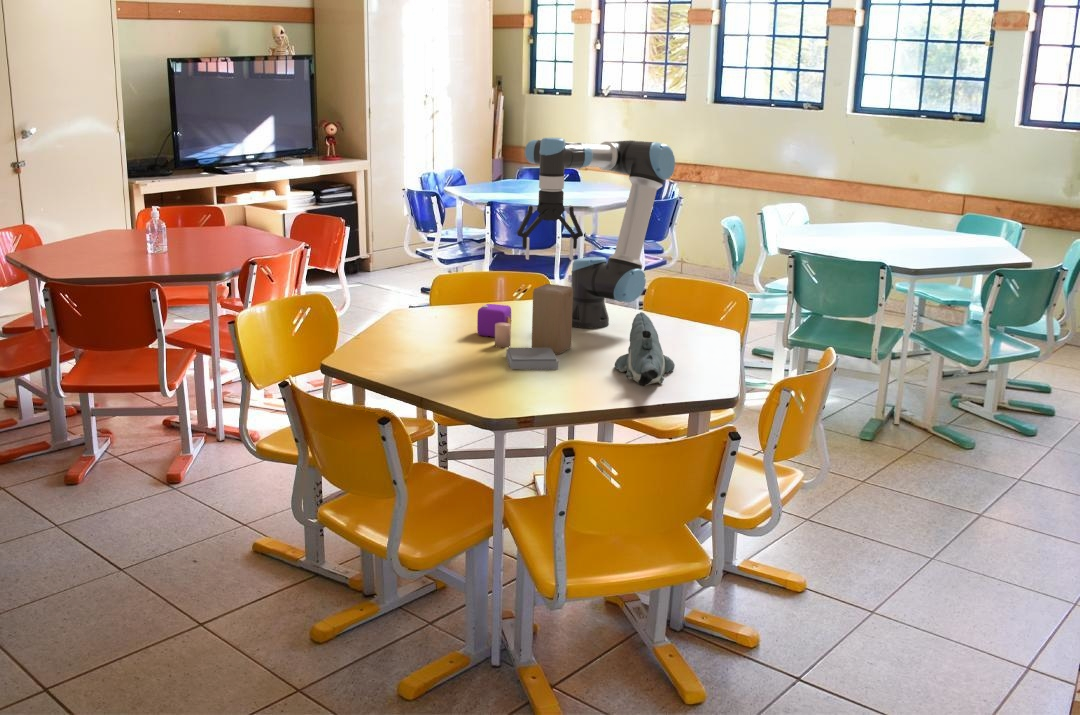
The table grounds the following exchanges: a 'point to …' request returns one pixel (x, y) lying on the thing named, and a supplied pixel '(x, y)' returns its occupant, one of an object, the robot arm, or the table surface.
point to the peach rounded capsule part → (502, 334)
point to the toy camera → (492, 318)
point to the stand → (531, 358)
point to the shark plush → (644, 354)
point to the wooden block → (552, 317)
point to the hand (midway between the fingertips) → (549, 259)
